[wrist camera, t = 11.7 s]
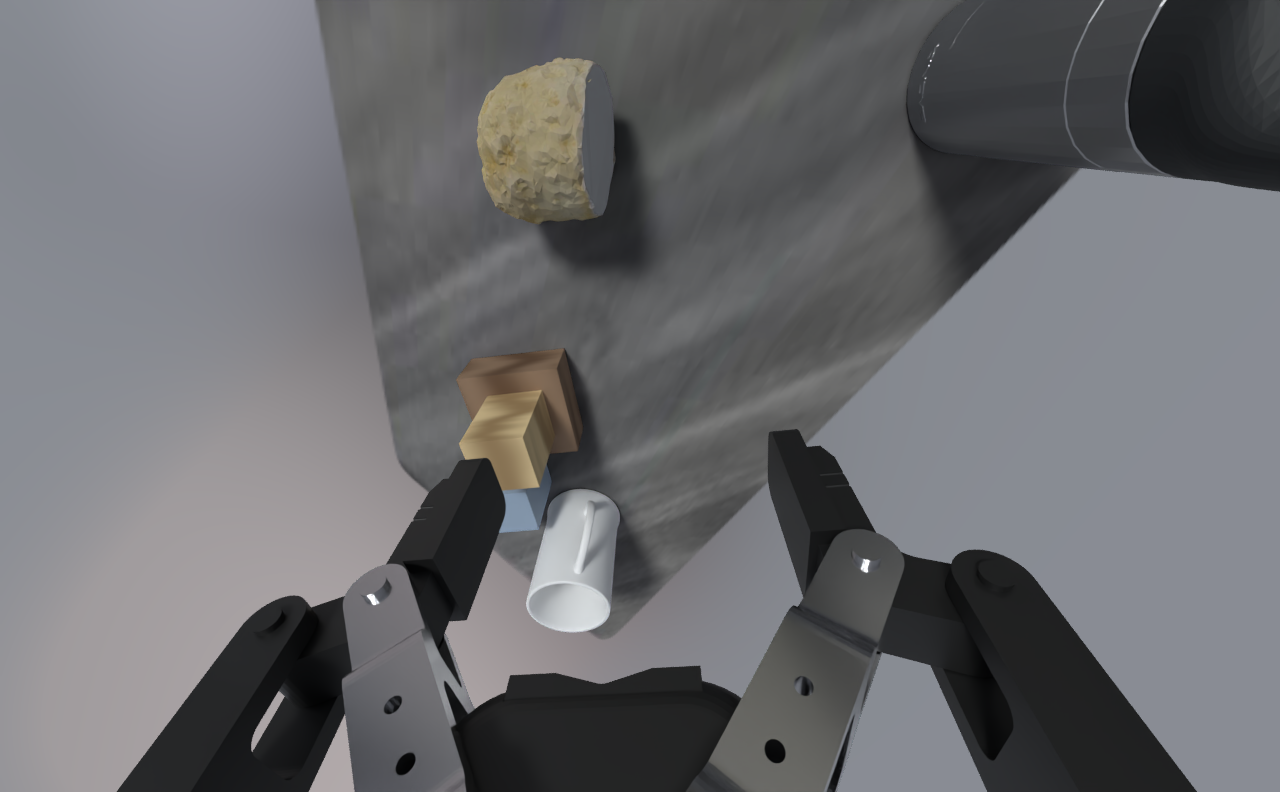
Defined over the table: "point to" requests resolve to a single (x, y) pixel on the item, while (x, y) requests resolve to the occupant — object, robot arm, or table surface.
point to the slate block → (526, 506)
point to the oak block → (512, 438)
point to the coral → (549, 142)
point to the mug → (575, 562)
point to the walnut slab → (528, 388)
